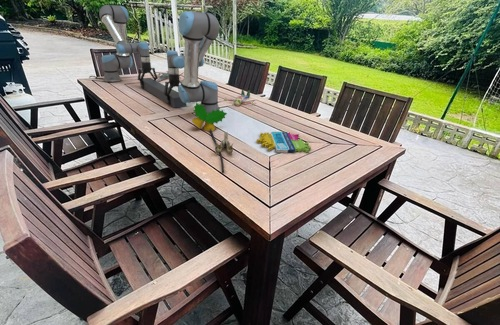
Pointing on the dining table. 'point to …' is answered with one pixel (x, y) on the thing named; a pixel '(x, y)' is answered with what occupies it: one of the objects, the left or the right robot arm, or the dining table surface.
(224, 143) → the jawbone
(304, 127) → the dining table surface
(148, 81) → the wide beam
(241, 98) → the toy
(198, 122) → the ornament
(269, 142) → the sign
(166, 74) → the airplane
